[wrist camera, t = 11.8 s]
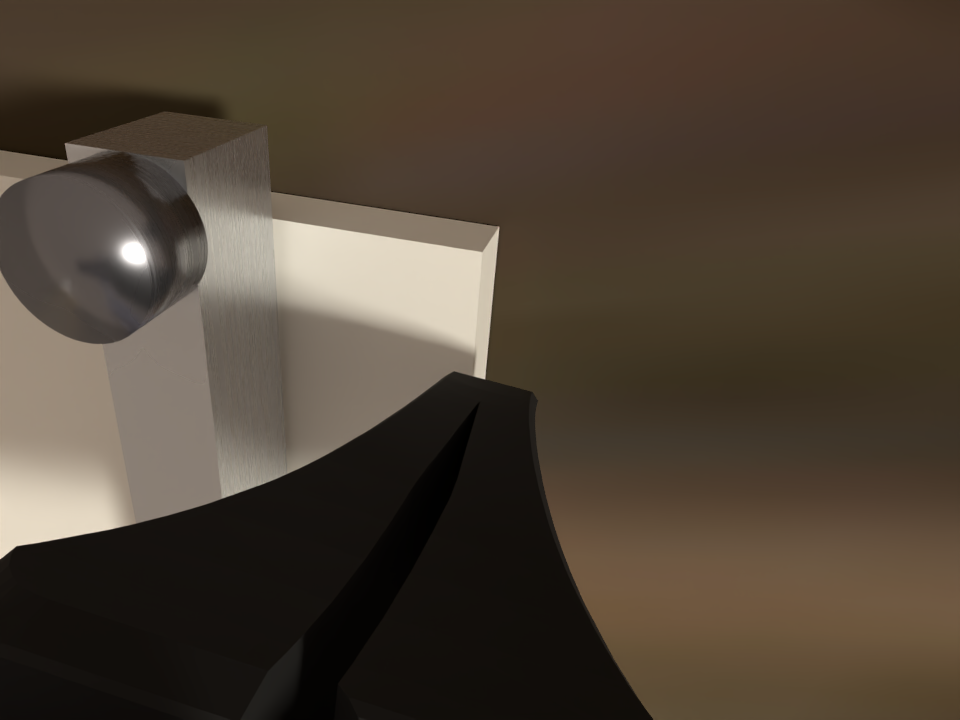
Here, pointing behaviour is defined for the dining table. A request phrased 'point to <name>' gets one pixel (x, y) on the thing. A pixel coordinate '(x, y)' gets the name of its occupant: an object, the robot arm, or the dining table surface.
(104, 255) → the crank arm
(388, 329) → the crank board
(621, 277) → the dining table surface
